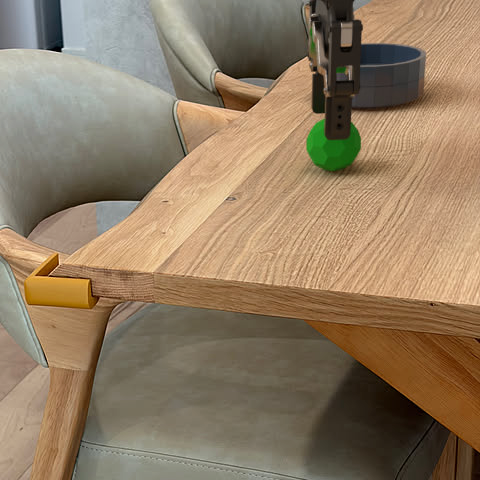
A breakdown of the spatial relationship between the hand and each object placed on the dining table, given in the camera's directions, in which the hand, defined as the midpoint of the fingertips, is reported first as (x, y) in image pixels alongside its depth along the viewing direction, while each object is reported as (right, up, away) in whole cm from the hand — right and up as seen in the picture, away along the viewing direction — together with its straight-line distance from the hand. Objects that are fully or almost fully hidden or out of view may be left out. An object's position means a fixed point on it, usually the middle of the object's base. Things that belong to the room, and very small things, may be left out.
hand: (329, 124), depth 84 cm
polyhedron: (+1, -4, +2) cm, 4 cm away
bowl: (+9, +8, +23) cm, 26 cm away
